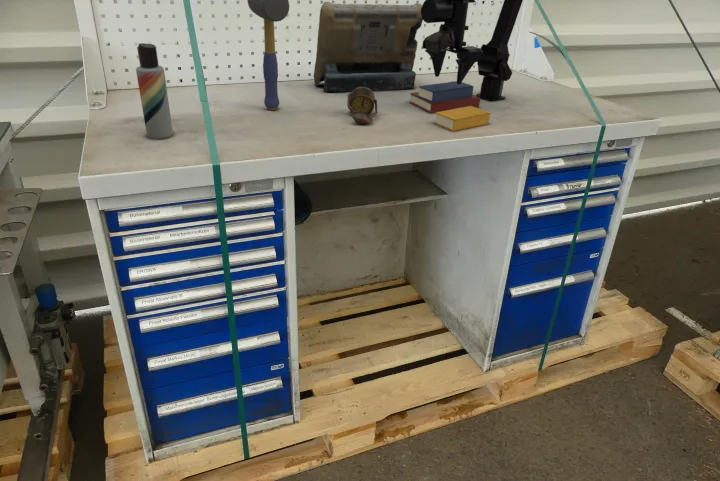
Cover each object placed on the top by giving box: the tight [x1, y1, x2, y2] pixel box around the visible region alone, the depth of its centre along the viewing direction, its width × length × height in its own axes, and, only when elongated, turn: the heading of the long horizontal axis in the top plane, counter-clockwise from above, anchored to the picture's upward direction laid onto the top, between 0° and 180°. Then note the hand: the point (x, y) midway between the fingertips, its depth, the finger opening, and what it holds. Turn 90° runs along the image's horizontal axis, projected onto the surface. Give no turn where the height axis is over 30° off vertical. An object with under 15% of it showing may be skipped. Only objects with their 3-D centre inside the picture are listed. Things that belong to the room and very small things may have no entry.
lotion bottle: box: [135, 42, 174, 140], centre depth 116 cm, size 6×6×20 cm
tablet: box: [313, 1, 424, 93], centre depth 160 cm, size 33×14×25 cm, turn 114°
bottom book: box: [409, 91, 481, 114], centre depth 152 cm, size 17×11×3 cm, turn 118°
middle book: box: [418, 80, 475, 103], centre depth 150 cm, size 15×6×3 cm, turn 123°
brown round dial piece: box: [346, 87, 378, 125], centre depth 137 cm, size 7×13×10 cm
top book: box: [434, 106, 491, 132], centre depth 138 cm, size 13×7×3 cm, turn 125°
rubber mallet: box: [247, 0, 290, 111], centre depth 134 cm, size 12×8×30 cm, turn 28°
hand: (447, 80), depth 148 cm, fingers open, 9 cm apart
